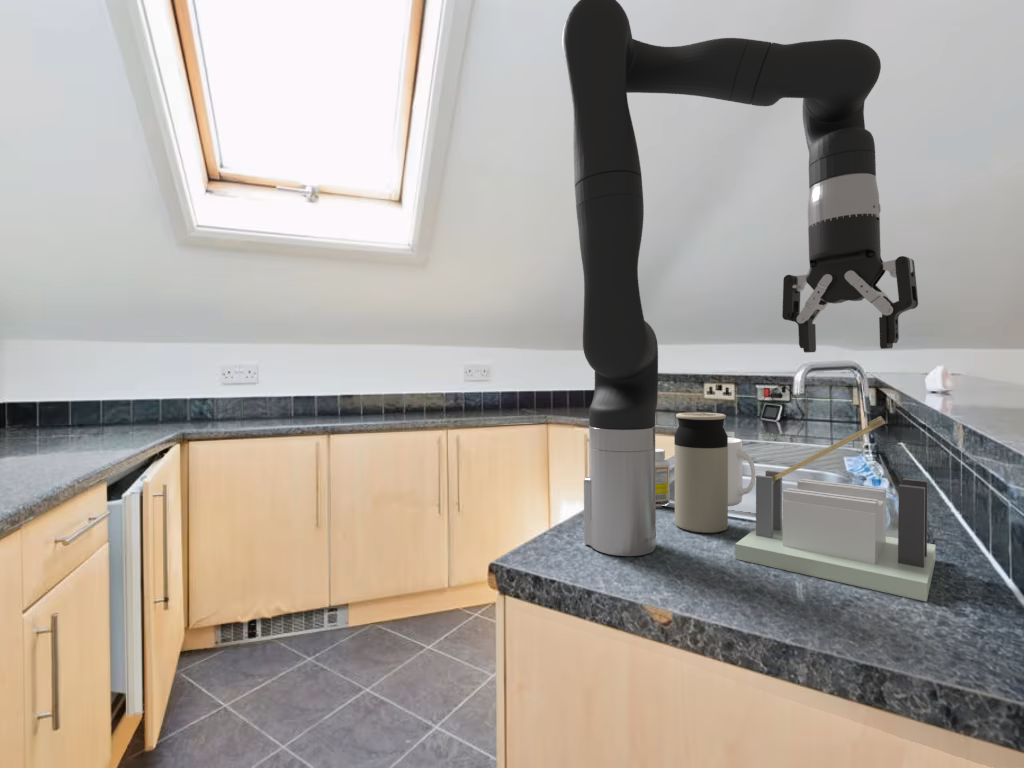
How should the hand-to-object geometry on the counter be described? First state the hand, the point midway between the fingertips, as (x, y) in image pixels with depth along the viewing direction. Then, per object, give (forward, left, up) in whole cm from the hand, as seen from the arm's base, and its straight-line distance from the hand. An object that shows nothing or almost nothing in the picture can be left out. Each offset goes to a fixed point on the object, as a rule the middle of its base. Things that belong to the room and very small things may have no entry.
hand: (846, 350), depth 66 cm
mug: (-24, +23, -28) cm, 43 cm away
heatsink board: (-2, +2, -27) cm, 27 cm away
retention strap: (-3, +2, -14) cm, 15 cm away
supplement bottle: (-33, +13, -28) cm, 45 cm away
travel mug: (-21, +5, -28) cm, 35 cm away
